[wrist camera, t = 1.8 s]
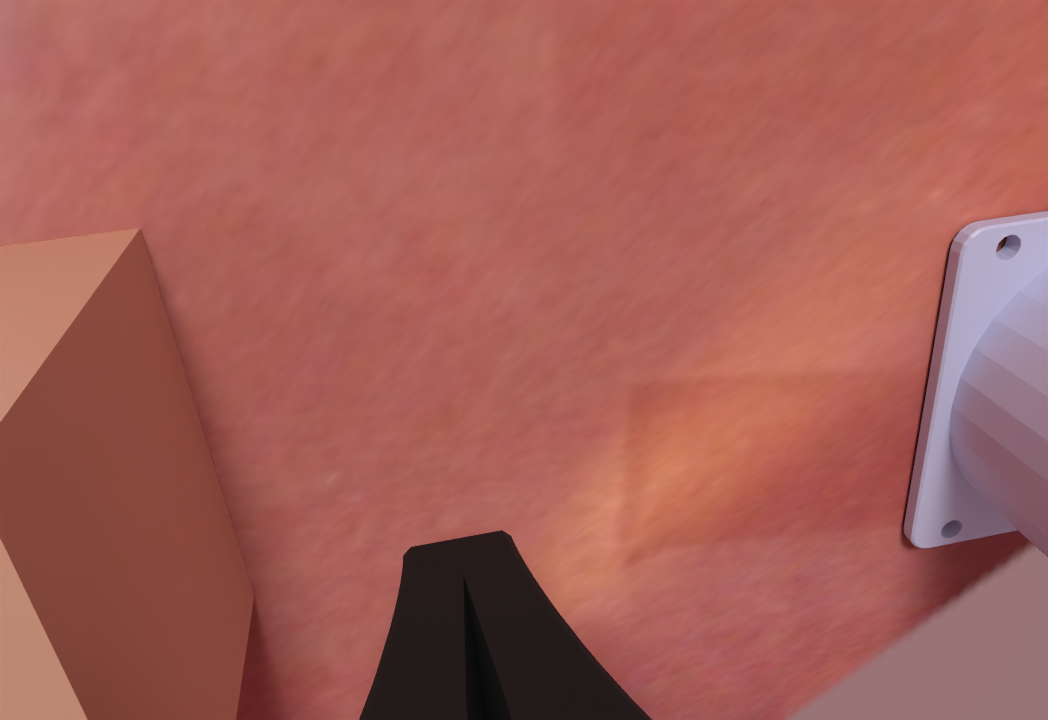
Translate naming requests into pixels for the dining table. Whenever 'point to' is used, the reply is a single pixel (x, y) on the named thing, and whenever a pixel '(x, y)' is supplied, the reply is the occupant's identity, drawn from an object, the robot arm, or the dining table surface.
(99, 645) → the glazed tile
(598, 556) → the dining table surface
